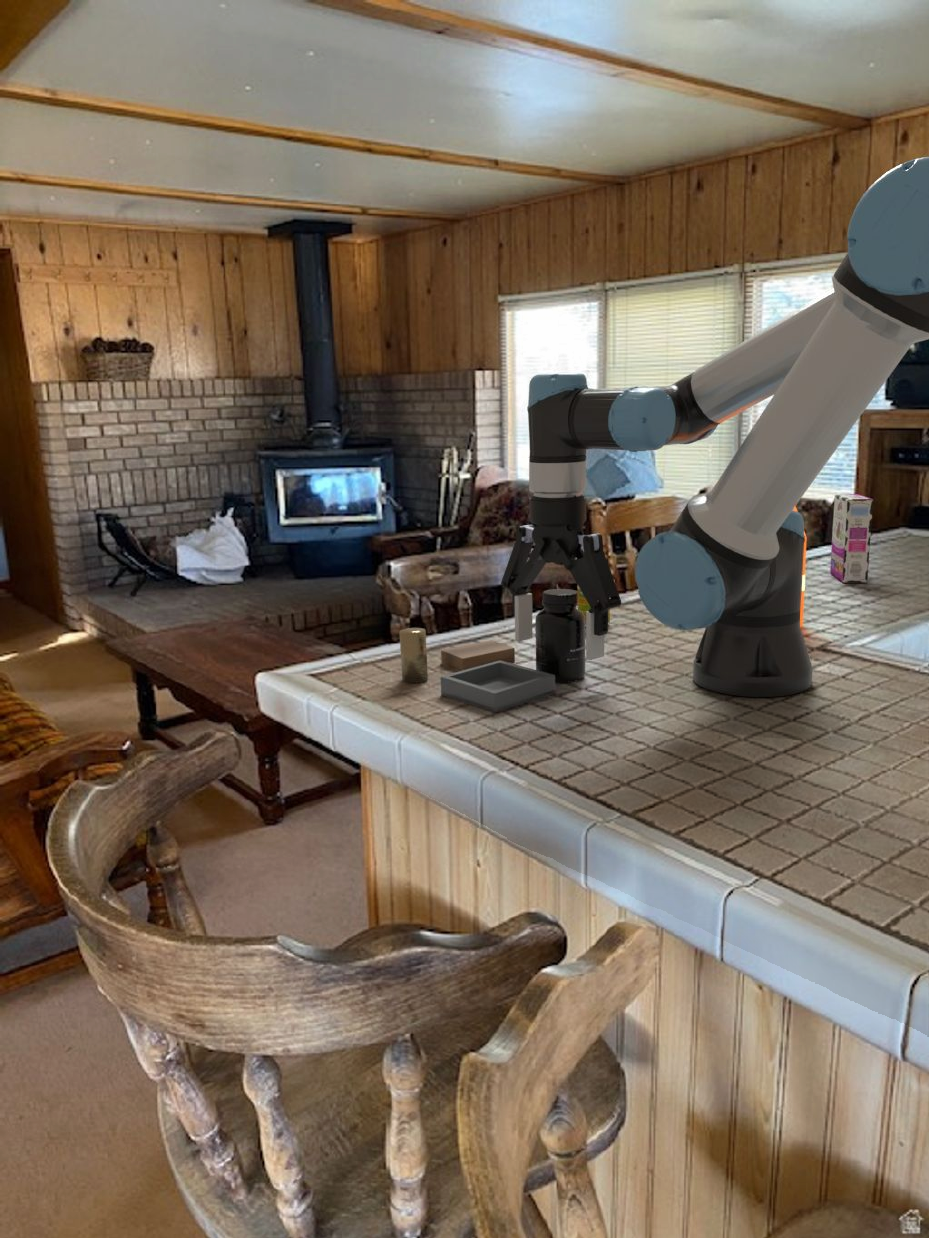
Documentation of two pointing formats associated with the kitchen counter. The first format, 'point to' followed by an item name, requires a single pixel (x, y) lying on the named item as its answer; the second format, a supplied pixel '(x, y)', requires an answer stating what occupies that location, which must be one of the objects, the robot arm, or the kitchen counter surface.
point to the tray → (497, 685)
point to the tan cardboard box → (477, 655)
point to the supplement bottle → (560, 636)
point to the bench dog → (413, 655)
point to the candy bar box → (851, 538)
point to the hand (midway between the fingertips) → (558, 648)
